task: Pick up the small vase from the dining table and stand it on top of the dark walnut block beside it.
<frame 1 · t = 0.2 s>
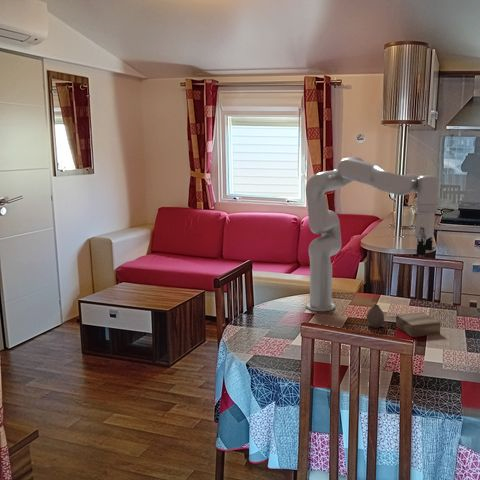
hand: (424, 252, 208), 31 cm above the table, tool pointing down, fingers open, 9 cm apart
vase: (375, 326, 216), on the table
walnut block: (417, 330, 212), on the table
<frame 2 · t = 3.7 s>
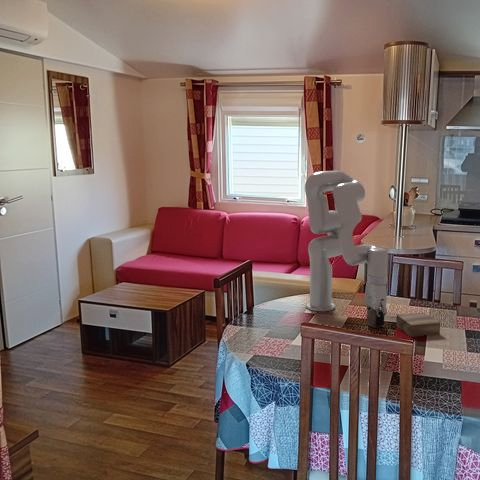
hand: (375, 322, 216), 2 cm above the table, tool pointing down, fingers closed on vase, 6 cm apart
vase: (374, 326, 217), on the table, touching gripper
everything else where it was.
when the fingers open (8 cm above the table, at t = 9.9 s): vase drops 2 cm, point 4 cm above the table.
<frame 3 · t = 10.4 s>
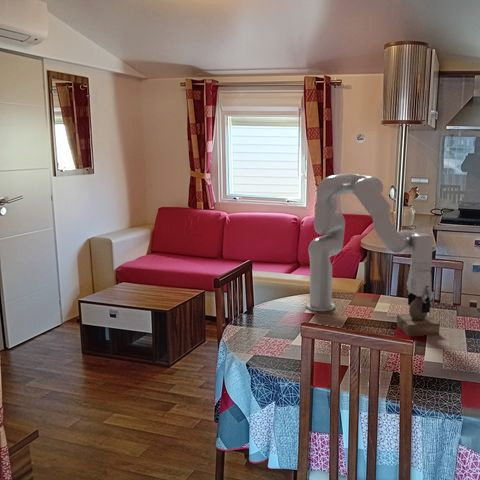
hand: (418, 308, 210), 9 cm above the table, tool pointing down, fingers open, 9 cm apart
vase: (417, 319, 211), point 4 cm above the table
everything else where it was.
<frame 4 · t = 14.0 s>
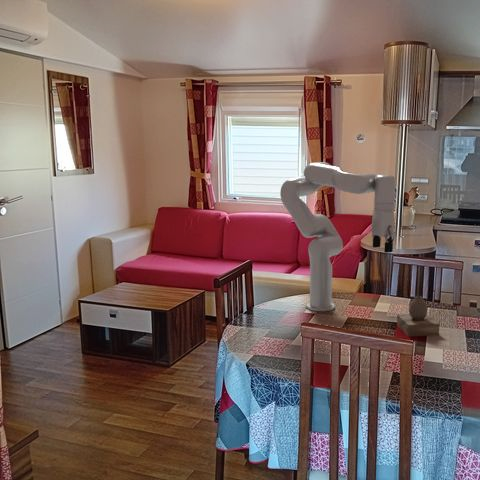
hand: (382, 249, 215), 30 cm above the table, tool pointing down, fingers open, 9 cm apart
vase: (417, 319, 211), point 4 cm above the table, touching walnut block
walnut block: (417, 331, 212), on the table, touching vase
at the end: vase 0.2 cm from the walnut block (horizontally); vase point 4.5 cm above the table; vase tilted 4° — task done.
